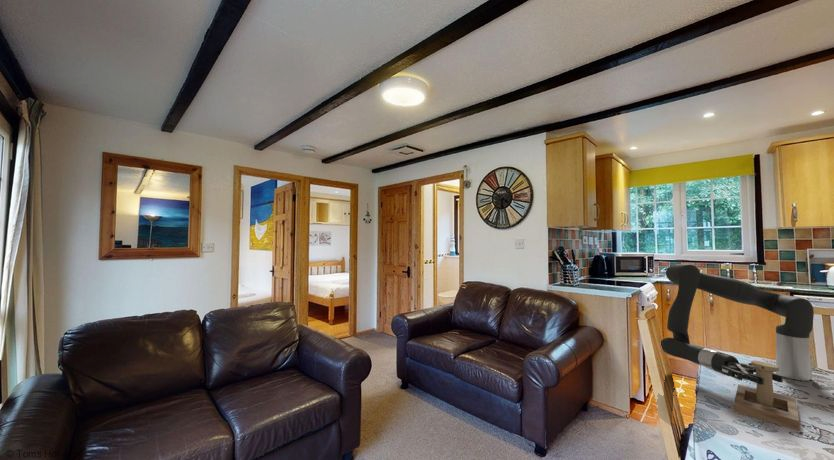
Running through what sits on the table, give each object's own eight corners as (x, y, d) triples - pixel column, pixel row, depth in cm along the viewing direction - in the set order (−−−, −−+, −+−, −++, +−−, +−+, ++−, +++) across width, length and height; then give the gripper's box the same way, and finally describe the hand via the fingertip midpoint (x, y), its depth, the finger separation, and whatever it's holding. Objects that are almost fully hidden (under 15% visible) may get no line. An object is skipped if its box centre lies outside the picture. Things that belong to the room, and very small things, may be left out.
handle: (776, 415, 106) (776, 368, 106) (749, 406, 111) (749, 362, 112) (780, 411, 108) (780, 366, 109) (753, 403, 114) (753, 359, 114)
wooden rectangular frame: (738, 392, 121) (738, 384, 121) (795, 407, 111) (795, 398, 111) (734, 411, 108) (734, 402, 108) (799, 430, 98) (799, 420, 98)
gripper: (702, 353, 122) (756, 371, 106) (732, 350, 125) (788, 367, 109) (702, 373, 122) (756, 394, 106) (732, 369, 125) (788, 389, 109)
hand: (772, 380), depth 108 cm, fingers open, 8 cm apart
